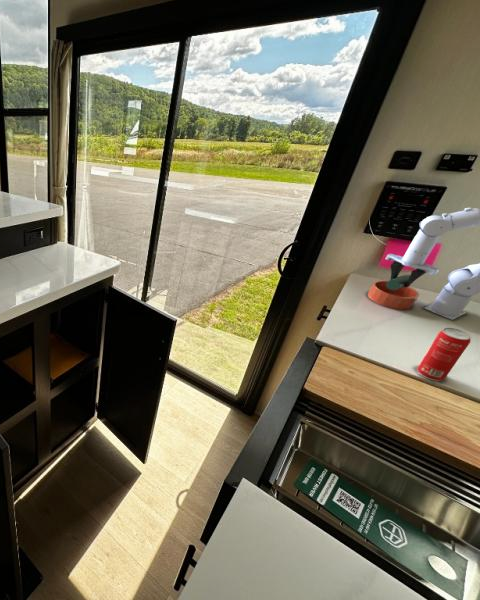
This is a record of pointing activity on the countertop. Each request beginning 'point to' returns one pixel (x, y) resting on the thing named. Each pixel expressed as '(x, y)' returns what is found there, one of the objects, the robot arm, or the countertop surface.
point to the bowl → (393, 296)
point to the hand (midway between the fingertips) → (399, 283)
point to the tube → (397, 282)
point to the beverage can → (443, 353)
